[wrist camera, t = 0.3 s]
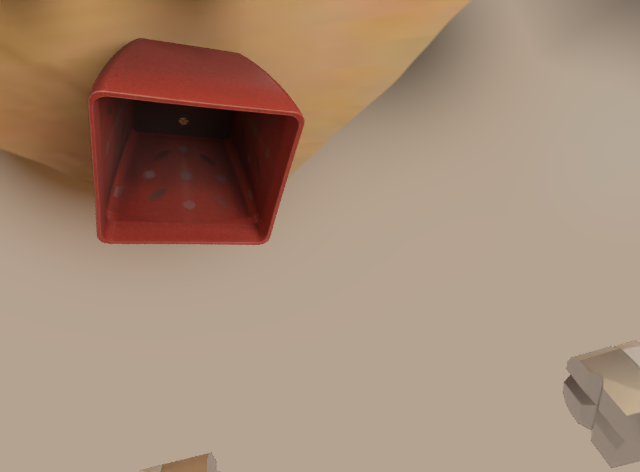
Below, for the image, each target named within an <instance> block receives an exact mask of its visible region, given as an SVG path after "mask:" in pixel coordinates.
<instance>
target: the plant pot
mask: <svg viewBox="0 0 640 472" xmlns="http://www.w3.org/2000/svg"><path fill="white" fill-rule="evenodd" d="M88 113H89V125H90V138H91V151H92V164H93V177H94V190H95V204H96V224H97V225H96V226H97V237H98V239H99V240H100V241H102V242H104V243H109V244H231V245H236V244H237V245H260V244H264V243H266V242H267V241H268V240H269V238H270V236H271V232H272V229H273V225H274V221H275V218H276V214H277V211H278V208H279V204H280V201H281V197H282V194H283V191H284V188H285V184H286V181H287V178H288V174H289V171H290V168H291V165H292V162H293V158H294V155H295V152H296V149H297V146H298V142H299V139H300V136H301V133H302V130H303V127H304V123H305V120H304V117H303V115H302V114H301V112H300V110H299V109H298V107H297V106H296V104H295V103H294V102H293V100H292V99H291V98H290V96H289V95H288V94H287V93H286V92H285V90H284V89H283V88H282V87H281V86H280V85H279V84H278V83H277V82H276V81H275V80H274V79H273V78H272V77H271V76H270V75H269V74H268V73H266V72H265V71H264V70H263V69H262V68H260V67H259V66H258V65H256V64H255V63H254V62H252V61H251V60H249V59H248V58H246V57H244V56H243V55H241V54H239V53H234V52H228V51H221V50H215V49H208V48H201V47H195V46H188V45H182V44H175V43H169V42H162V41H155V40H148V39H141V38H139V39H136V40H134V41H132V42H130V43H129V44H127V45H126V46H124V47H123V48H122V49H120V50H119V51H118V52H117V53H116V54H115V55H114V56H113V57H112V58H111V59H110V60H109V61H108V63H107V64H106V65H105V67H104V68H103V70H102V71H101V73H100V74H99V76H98V78H97V79H96V81H95V83H94V85H93V88H92V90H91V92H90V94H89V97H88ZM182 117H185V118H188V120H189V124H188V125H186V126H183V125H180V124H179V119H180V118H182Z"/></svg>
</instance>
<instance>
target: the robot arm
mask: <svg viewBox="0 0 640 472" xmlns="http://www.w3.org/2000/svg"><path fill="white" fill-rule="evenodd" d="M566 369H567V370H568V372H569V373H570V374H571V375H570V376H569V377H568V378H567V379H566V381H565V382H564V387H563V394H564V398H565V402H566V405H567V407H568V408H569V411H570V412H571V414H572V415H573V417H574V418H575V420H576V421H577V422H578V423H579V424H581V425H582V426H584V427H586V428H588V429H590V430H591V441H592V443H593V444H594V446H595V447H596V448H597V450H598V451H599V452H600V453H601V455H602V456H603V458H604V459H605V460H606V462H607V463H608V464H609V466H610V467H611V468H614V467H618V466H622V465H626V464H630V463H634V462H638V461H640V342H638V341H631V342H627V343H624V344H620V345H617V346H614V347H607V348H603V349H600V350H596V351H593V352H589V353H586V354H582V355H578V356H575V357H571V359H569V360H568V362H567V368H566ZM140 472H219V471H217V470H216V459H215V458H214V456H213V454H212V453H208V454H203V455H200V456H195V457H191V458H188V459H183V460H180V461H175V462H171V463H167V464H162V465H158V466H155V467H151V468H147V469H143V470H140Z"/></svg>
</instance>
